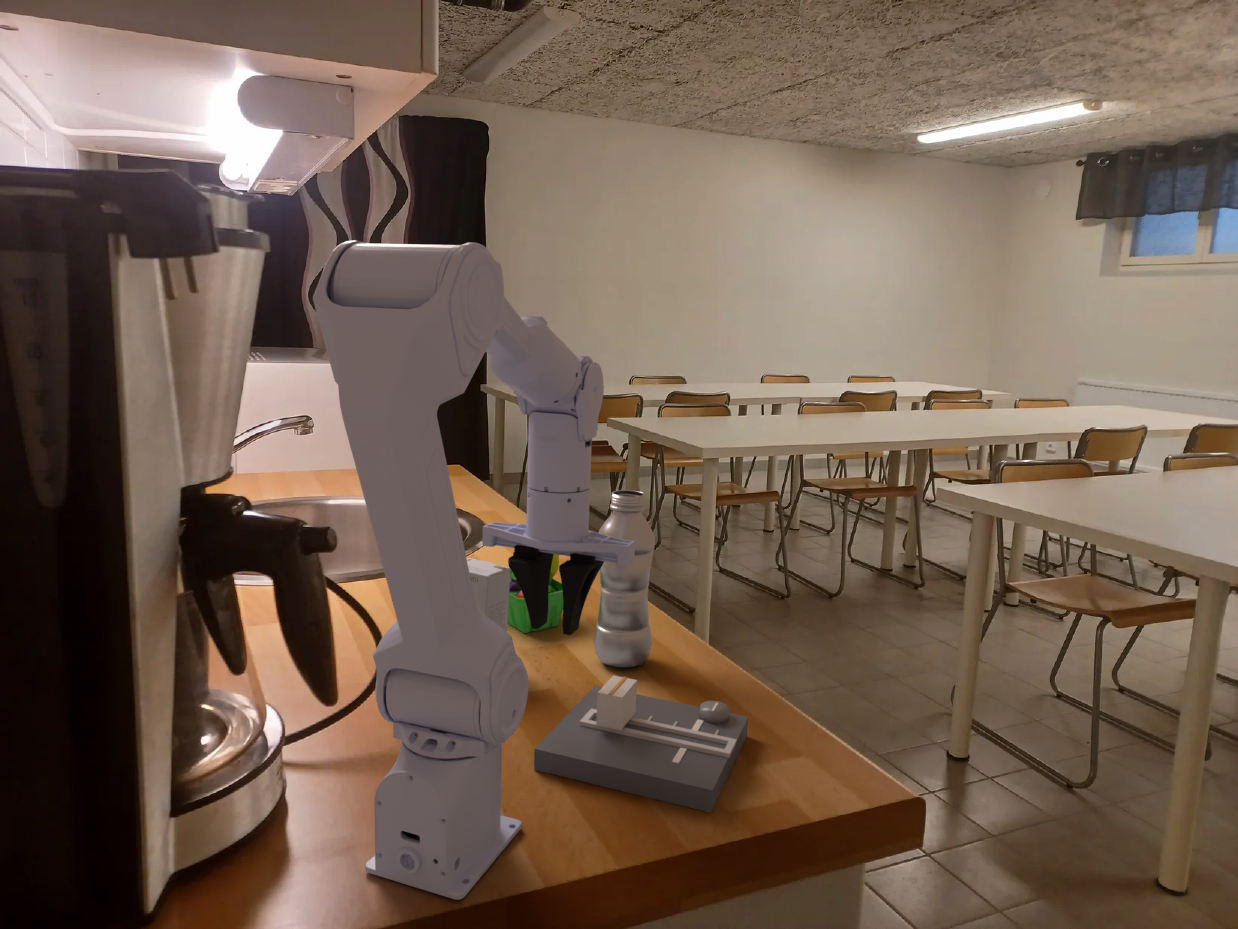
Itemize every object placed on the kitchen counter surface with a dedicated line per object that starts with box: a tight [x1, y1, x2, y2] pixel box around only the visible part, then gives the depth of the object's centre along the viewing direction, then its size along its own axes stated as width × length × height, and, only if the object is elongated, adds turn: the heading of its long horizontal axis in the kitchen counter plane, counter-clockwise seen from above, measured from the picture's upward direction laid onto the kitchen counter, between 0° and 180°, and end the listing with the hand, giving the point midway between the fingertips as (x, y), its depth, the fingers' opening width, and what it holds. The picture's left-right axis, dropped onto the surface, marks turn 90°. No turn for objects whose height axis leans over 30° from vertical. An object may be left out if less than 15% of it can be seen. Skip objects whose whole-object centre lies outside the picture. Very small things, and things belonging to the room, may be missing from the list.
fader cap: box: [596, 675, 638, 730], centre depth 79 cm, size 4×2×4 cm, turn 160°
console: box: [533, 685, 749, 813], centre depth 79 cm, size 14×16×3 cm
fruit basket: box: [507, 554, 563, 634], centre depth 111 cm, size 11×9×11 cm
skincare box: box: [466, 557, 510, 633], centre depth 94 cm, size 6×4×12 cm
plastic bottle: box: [593, 489, 656, 668], centre depth 97 cm, size 6×7×20 cm
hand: (554, 628), depth 81 cm, fingers open, 3 cm apart
